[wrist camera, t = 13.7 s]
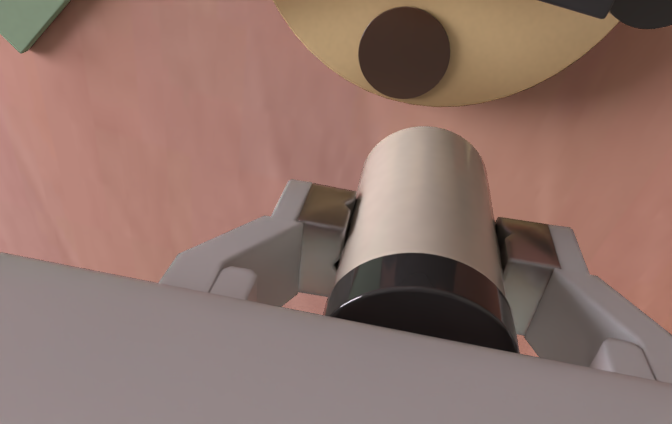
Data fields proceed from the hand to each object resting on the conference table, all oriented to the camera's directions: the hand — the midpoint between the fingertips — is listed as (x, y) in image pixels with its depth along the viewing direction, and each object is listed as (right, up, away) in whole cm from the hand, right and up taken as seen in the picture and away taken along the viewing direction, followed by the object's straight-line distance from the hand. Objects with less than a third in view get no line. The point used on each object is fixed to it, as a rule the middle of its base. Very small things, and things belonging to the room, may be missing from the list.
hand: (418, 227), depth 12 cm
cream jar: (0, +1, +2) cm, 2 cm away
